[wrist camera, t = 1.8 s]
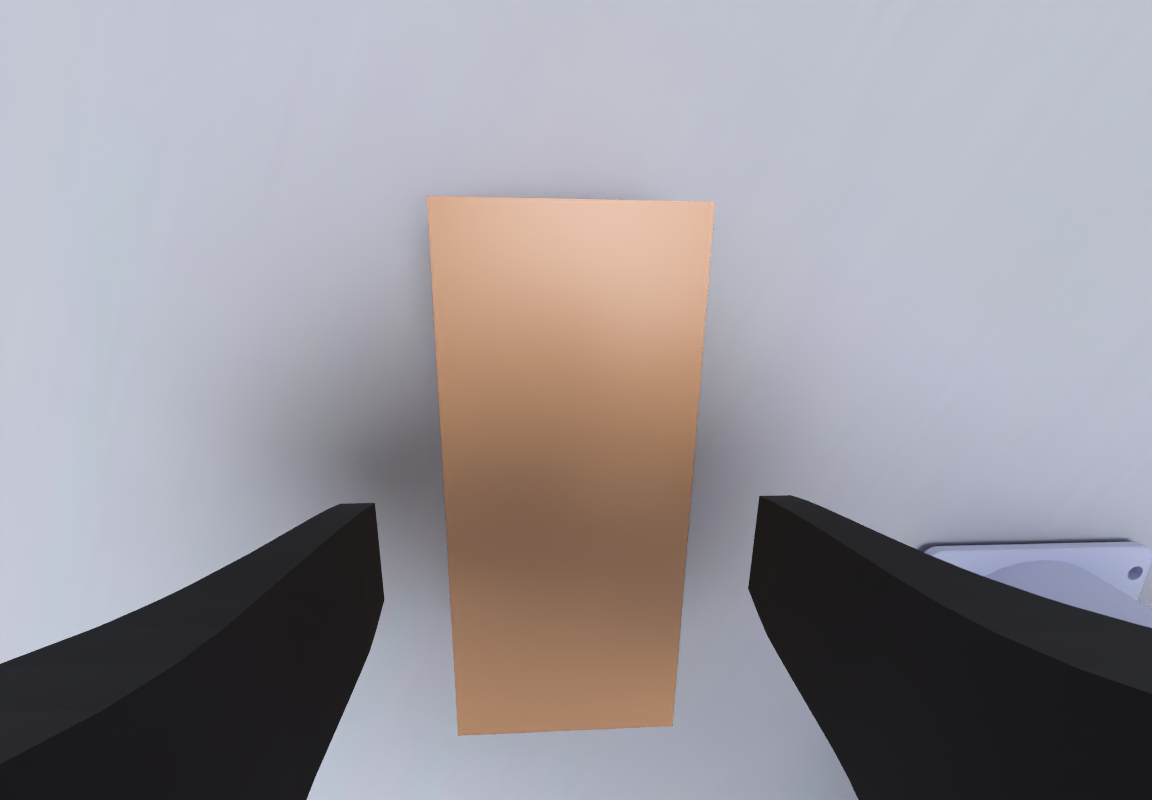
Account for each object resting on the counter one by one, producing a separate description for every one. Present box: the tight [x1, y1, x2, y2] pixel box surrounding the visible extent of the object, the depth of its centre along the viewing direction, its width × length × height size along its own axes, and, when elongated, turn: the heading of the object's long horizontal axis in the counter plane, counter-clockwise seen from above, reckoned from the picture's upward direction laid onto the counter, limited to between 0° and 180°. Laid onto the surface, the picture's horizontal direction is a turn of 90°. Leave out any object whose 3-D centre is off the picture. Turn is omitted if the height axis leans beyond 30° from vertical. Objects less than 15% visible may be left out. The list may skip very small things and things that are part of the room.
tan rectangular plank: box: [427, 196, 715, 735], centre depth 14 cm, size 13×5×4 cm, turn 179°
